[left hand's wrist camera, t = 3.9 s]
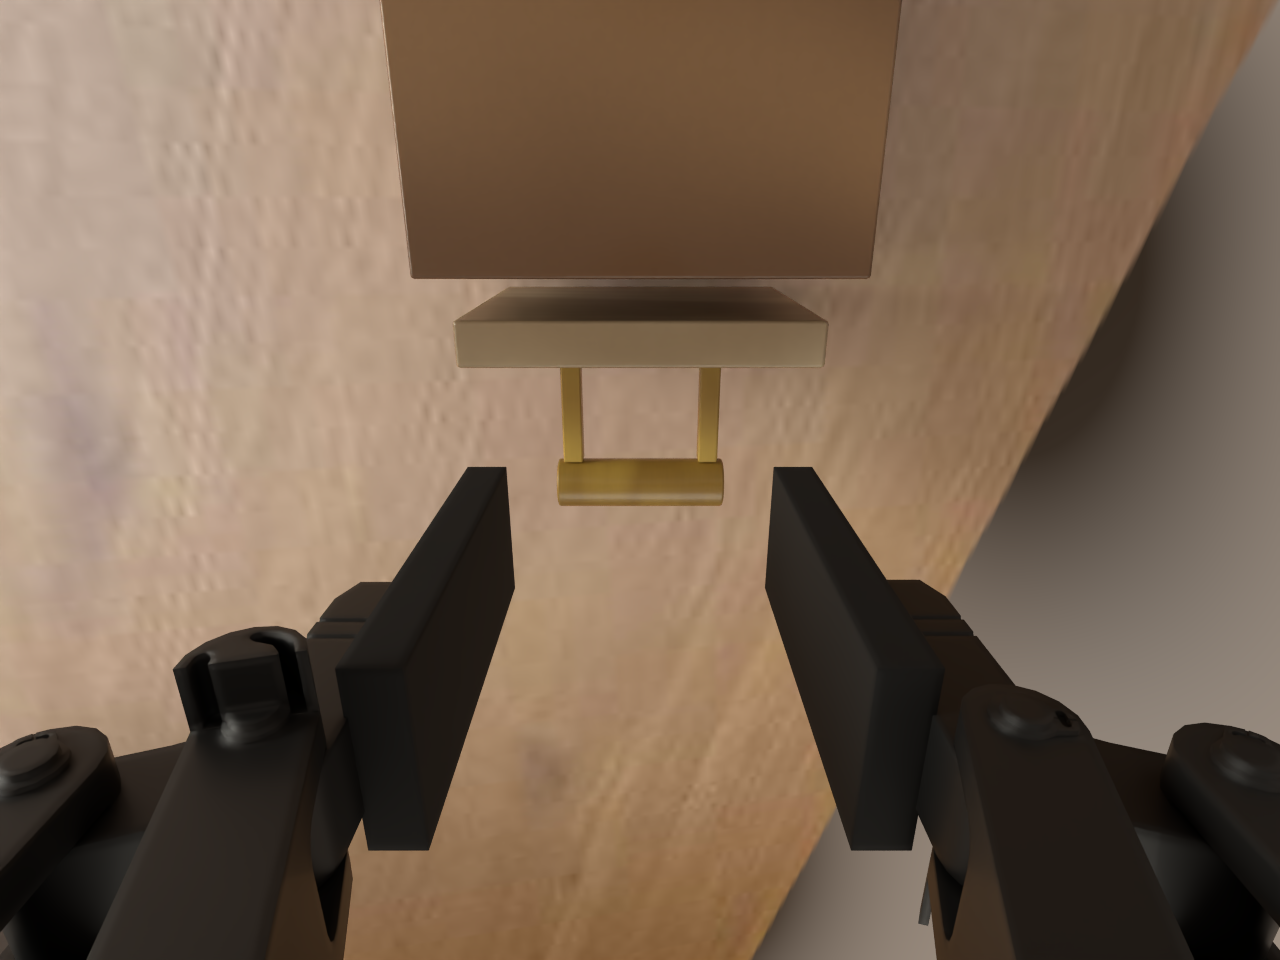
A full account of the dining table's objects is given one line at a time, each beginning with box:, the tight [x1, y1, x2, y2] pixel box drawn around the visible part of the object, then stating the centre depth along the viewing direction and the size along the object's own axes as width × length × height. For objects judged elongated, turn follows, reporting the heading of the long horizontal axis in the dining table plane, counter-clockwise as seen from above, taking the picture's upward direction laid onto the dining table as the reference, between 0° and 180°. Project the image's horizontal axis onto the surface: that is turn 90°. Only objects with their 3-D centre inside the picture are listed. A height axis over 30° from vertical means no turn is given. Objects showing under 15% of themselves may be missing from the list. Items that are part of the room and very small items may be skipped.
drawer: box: [453, 287, 828, 506], centre depth 20 cm, size 21×9×8 cm, turn 0°
